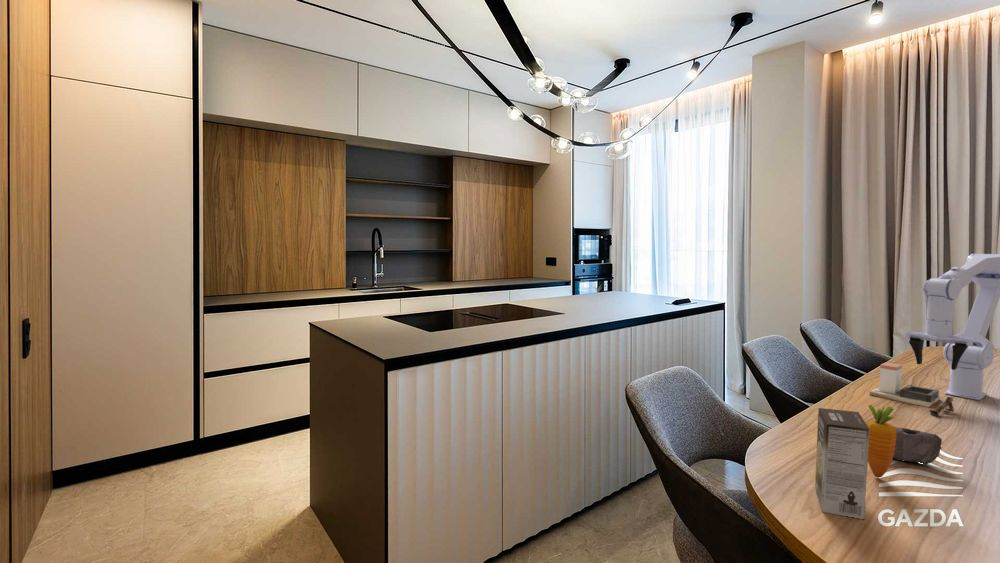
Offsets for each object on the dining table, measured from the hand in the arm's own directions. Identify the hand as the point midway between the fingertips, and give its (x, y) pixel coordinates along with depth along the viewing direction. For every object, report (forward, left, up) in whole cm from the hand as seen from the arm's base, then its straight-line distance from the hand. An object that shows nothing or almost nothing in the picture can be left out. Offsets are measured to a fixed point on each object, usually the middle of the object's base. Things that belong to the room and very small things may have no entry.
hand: (936, 366), depth 142 cm
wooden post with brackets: (+11, +4, -11) cm, 16 cm away
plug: (+2, -10, -9) cm, 14 cm away
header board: (+2, -6, -10) cm, 12 cm away
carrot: (+69, +6, -11) cm, 70 cm away
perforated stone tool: (+55, +5, -11) cm, 56 cm away
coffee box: (+86, +5, -11) cm, 87 cm away
